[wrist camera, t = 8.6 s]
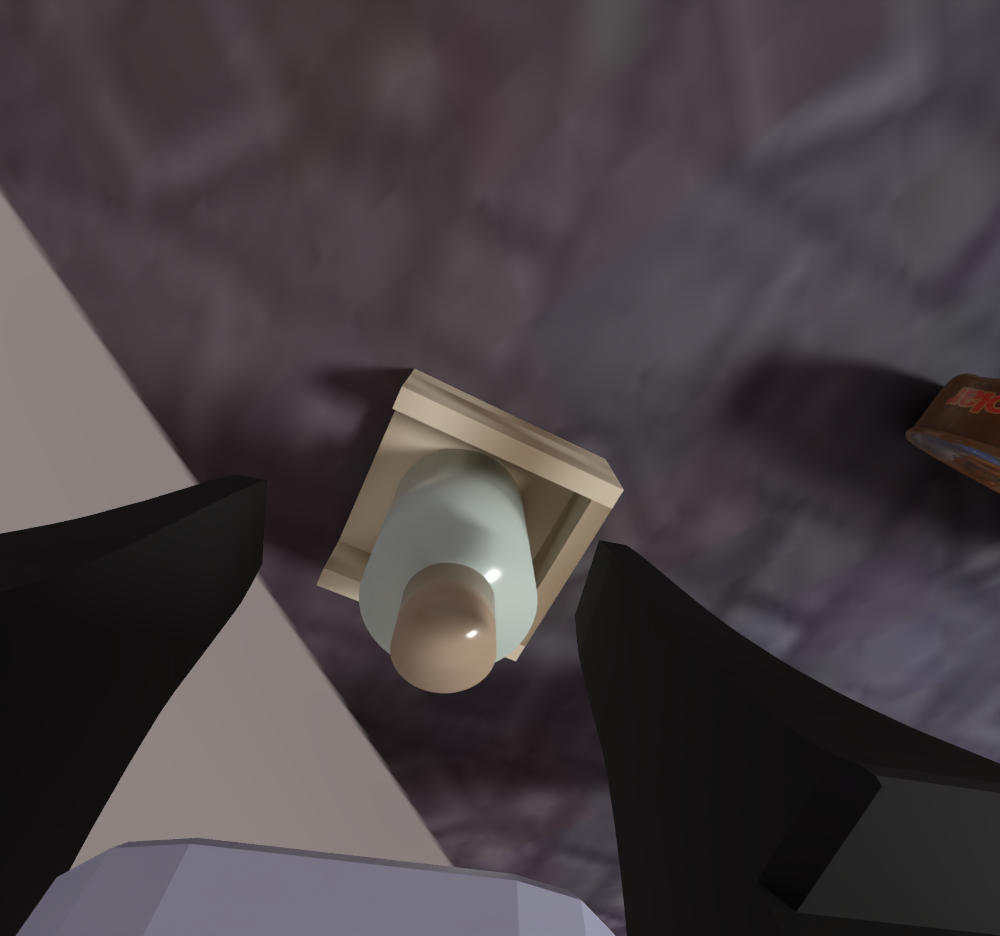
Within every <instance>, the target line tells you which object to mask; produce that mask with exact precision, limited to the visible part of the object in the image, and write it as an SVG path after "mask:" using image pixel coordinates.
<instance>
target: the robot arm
mask: <svg viewBox="0 0 1000 936" xmlns="http://www.w3.org/2000/svg"><path fill="white" fill-rule="evenodd" d="M266 482H267V480H262V479H257V478H251V477H246V476H240V475H233V476H227V477H223V478H219V479H215V480H212V481H208V482H205V483H201V484H198V485H195V486H191V487H189V488H185V489H182V490H178V491H175V492H172V493H169V494H165V495H162V496H159V497H156V498H152V499H149V500H146V501H142V502H138V503H135V504H131V505H127V506H124V507H120V508H116V509H112V510H109V511H105V512H101V513H98V514H94V515H90V516H86V517H82V518H78V519H74V520H69V521H64V522H59V523H55V524H50V525H45V526H39V527H34V528H29V529H24V530H19V531H13V532H7V533H2V534H0V936H615V935H614V934H613V933H612V932H611V931H610V930H609V928H608V927H607V926H606V925H605V924H604V923H603V922H602V921H601V920H600V919H599V918H598V917H597V916H596V915H595V914H594V913H593V912H592V911H591V910H590V909H589V908H588V907H587V906H586V905H585V904H584V903H583V902H582V901H581V900H580V899H579V898H578V897H576V896H575V895H574V894H572V893H571V892H570V891H567V890H564V889H561V888H558V887H554V886H551V885H548V884H545V883H541V882H538V881H535V880H531V879H528V878H525V877H522V876H518V875H515V874H510V873H501V872H493V871H484V870H475V869H466V868H457V867H449V866H439V865H431V864H422V863H412V862H405V861H395V860H387V859H378V858H369V857H360V856H352V855H343V854H334V853H325V852H316V851H307V850H299V849H290V848H281V847H273V846H264V845H255V844H246V843H238V842H229V841H220V840H210V839H202V838H189V839H172V840H154V841H137V842H128V843H125V844H122V845H119V846H116V847H113V848H111V849H108V850H107V851H105V852H103V853H101V854H100V855H98V856H95V857H94V858H92V859H90V860H88V861H86V862H84V863H82V864H81V865H79V866H77V867H75V868H73V869H71V870H70V868H71V866H72V864H73V862H74V860H75V859H76V856H77V855H78V853H79V851H80V849H81V847H82V846H83V844H84V842H85V840H86V838H87V837H88V835H89V833H90V831H91V829H92V827H93V826H94V824H95V822H96V820H97V818H98V817H99V815H100V813H101V812H102V810H103V808H104V806H105V805H106V802H107V801H108V799H109V798H110V796H111V794H112V792H113V791H114V789H115V787H116V785H117V784H118V782H119V780H120V778H121V777H122V775H123V773H124V771H125V770H126V768H127V766H128V764H129V763H130V761H131V760H132V758H133V756H134V754H135V753H136V751H137V750H138V748H139V746H140V745H141V743H142V741H143V740H144V738H145V736H146V735H147V733H148V731H149V730H150V728H151V727H152V725H153V723H154V721H155V720H156V718H157V717H158V715H159V713H160V712H161V710H162V709H163V708H164V706H165V705H166V703H167V702H168V700H169V699H170V697H171V696H172V695H173V693H174V692H175V690H176V689H177V688H178V686H179V685H180V684H181V682H182V681H183V680H184V678H185V677H186V676H187V674H188V673H189V672H190V670H191V669H192V668H193V666H194V665H195V664H196V662H197V661H198V660H199V659H200V657H201V656H202V654H203V653H204V652H205V650H206V649H207V648H208V647H209V645H210V644H211V643H212V641H213V640H214V638H215V637H216V636H217V635H218V633H219V632H220V631H221V629H222V628H223V627H224V625H225V624H226V623H227V621H228V620H229V618H230V617H231V616H232V614H233V613H234V612H235V610H236V609H237V608H238V606H239V605H240V603H241V602H242V600H243V598H244V597H245V595H246V593H247V591H248V590H249V588H250V586H251V584H252V582H253V580H254V578H255V577H256V575H257V573H258V571H259V569H260V567H261V565H262V556H263V538H264V519H265V500H266ZM575 622H576V634H577V643H578V652H579V658H580V662H581V667H582V671H583V675H584V679H585V683H586V687H587V691H588V695H589V699H590V703H591V707H592V711H593V715H594V719H595V723H596V727H597V731H598V735H599V739H600V742H601V746H602V750H603V755H604V760H605V765H606V769H607V774H608V781H609V788H610V795H611V802H612V809H613V816H614V822H615V830H616V838H617V846H618V855H619V863H620V871H621V879H622V888H623V898H624V908H625V918H626V928H627V936H1000V764H999V763H997V762H994V761H992V760H989V759H987V758H984V757H982V756H980V755H977V754H975V753H972V752H970V751H967V750H965V749H962V748H960V747H957V746H955V745H953V744H950V743H948V742H945V741H943V740H940V739H938V738H935V737H933V736H930V735H928V734H926V733H923V732H921V731H918V730H916V729H914V728H911V727H909V726H907V725H905V724H902V723H900V722H898V721H896V720H894V719H892V718H890V717H887V716H885V715H883V714H881V713H879V712H877V711H875V710H873V709H870V708H868V707H866V706H864V705H862V704H860V703H858V702H856V701H854V700H852V699H850V698H848V697H846V696H844V695H842V694H840V693H838V692H836V691H834V690H832V689H831V688H829V687H827V686H825V685H823V684H822V683H820V682H818V681H816V680H814V679H812V678H811V677H809V676H807V675H805V674H803V673H802V672H800V671H798V670H796V669H795V668H793V667H791V666H789V665H788V664H786V663H784V662H783V661H781V660H779V659H778V658H776V657H774V656H773V655H771V654H770V653H768V652H767V651H765V650H764V649H762V648H761V647H759V646H757V645H756V644H754V643H753V642H751V641H750V640H748V639H747V638H745V637H744V636H742V635H741V634H739V633H738V632H736V631H735V630H734V629H732V628H731V627H729V626H728V625H727V624H725V623H724V622H723V621H721V620H720V619H719V618H717V617H716V616H715V615H713V614H712V613H711V612H709V611H708V610H707V609H705V608H704V607H703V606H702V605H700V604H699V603H698V602H696V601H695V600H694V599H693V598H691V597H690V596H689V595H688V594H687V593H685V592H684V591H683V590H682V589H680V588H679V587H678V586H677V585H676V584H674V583H673V582H672V581H671V580H670V579H668V578H667V577H666V576H665V575H664V574H662V573H661V572H660V571H659V570H658V569H657V568H655V567H654V566H653V565H652V564H651V563H649V562H648V561H647V560H646V559H644V558H643V557H642V556H641V555H639V554H638V553H637V552H635V551H634V550H633V549H631V548H630V547H628V546H626V545H622V544H617V543H611V542H606V541H600V540H599V542H598V546H597V549H596V552H595V555H594V558H593V561H592V564H591V567H590V570H589V574H588V577H587V580H586V583H585V586H584V589H583V592H582V595H581V598H580V601H579V605H578V608H577V611H576V614H575Z"/></svg>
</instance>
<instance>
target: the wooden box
mask: <svg viewBox="0 0 1000 936" xmlns="http://www.w3.org/2000/svg"><path fill="white" fill-rule="evenodd" d="M392 409H394V410H395V412H394V414H393V417H392V419H391V421H390V423H389V426H388V428H387V430H386V433H385V435H384V437H383V440H382V442H381V444H380V447H379V449H378V451H377V454H376V456H375V458H374V460H373V463H372V465H371V467H370V470H369V472H368V474H367V477H366V479H365V481H364V484H363V486H362V488H361V490H360V493H359V495H358V497H357V500H356V502H355V504H354V507H353V509H352V511H351V514H350V516H349V518H348V521H347V523H346V525H345V527H344V530H343V532H342V534H341V537H340V539H339V541H338V543H337V545H336V547H335V549H334V550H333V552H332V554H331V556H330V558H329V559H328V561H327V563H326V565H325V567H324V569H323V571H322V573H321V576H320V578H319V580H318V583H317V586H320V587H323V588H325V589H328V590H330V591H333V592H336V593H338V594H341V595H344V596H346V597H349V598H351V599H354V600H357V601H359V589H360V583H361V580H362V576H363V573H364V571H365V568H366V566H367V563H368V561H369V558H370V556H371V553H372V550H373V548H374V545H375V543H376V540H377V538H378V535H379V533H380V530H381V528H382V525H383V523H384V520H385V517H386V515H387V512H388V510H389V507H390V505H391V502H392V500H393V497H394V495H395V492H396V490H397V487H398V485H399V483H400V481H401V479H402V477H403V476H404V475H405V473H406V472H407V471H408V470H409V469H410V468H411V467H412V466H413V465H414V464H415V463H416V462H418V461H419V460H421V459H422V458H424V457H426V456H428V455H430V454H433V453H436V452H439V451H443V450H449V449H465V450H471V451H476V452H479V453H482V454H485V455H487V456H489V457H491V458H493V459H494V460H496V461H497V462H499V463H500V464H501V465H502V466H504V467H505V468H506V469H507V470H508V472H509V473H510V474H511V475H512V477H513V478H514V480H515V481H516V483H517V485H518V487H519V490H520V493H521V497H522V503H523V509H524V515H525V521H526V527H527V533H528V540H529V546H530V552H531V558H532V564H533V570H534V576H535V582H536V589H537V610H536V615H535V618H534V621H533V624H532V626H531V628H530V630H529V632H528V634H527V635H526V637H525V638H524V640H523V641H522V642H521V643H520V644H519V645H518V646H517V647H516V648H515V649H514V650H513V651H512V652H511V653H509V654H508V655H507V656H505V657H506V658H509V659H511V660H514V661H516V660H517V659H518V657H519V655H520V654H521V652H522V651H523V649H524V647H525V646H526V644H527V643H528V641H529V640H530V638H531V636H532V635H533V633H534V632H535V630H536V628H537V627H538V625H539V624H540V622H541V621H542V619H543V617H544V616H545V614H546V613H547V611H548V609H549V608H550V606H551V605H552V603H553V601H554V600H555V598H556V597H557V595H558V594H559V592H560V590H561V589H562V587H563V586H564V584H565V582H566V581H567V579H568V578H569V576H570V574H571V573H572V571H573V570H574V568H575V567H576V565H577V563H578V562H579V560H580V559H581V557H582V555H583V554H584V552H585V551H586V549H587V547H588V546H589V544H590V543H591V541H592V540H593V538H594V536H595V535H596V533H597V532H598V530H599V528H600V527H601V525H602V524H603V522H604V521H605V519H606V517H607V516H608V514H609V513H610V511H611V509H612V508H613V506H614V505H615V503H616V501H617V500H618V498H619V497H620V495H621V494H622V492H623V488H622V486H621V484H620V483H619V481H618V479H617V478H616V476H615V474H614V473H613V471H612V469H611V468H610V466H609V464H608V463H607V461H606V459H604V458H602V457H599V456H597V455H595V454H593V453H591V452H589V451H587V450H585V449H583V448H581V447H578V446H576V445H574V444H572V443H570V442H568V441H566V440H564V439H562V438H559V437H557V436H555V435H553V434H551V433H549V432H547V431H545V430H543V429H541V428H538V427H536V426H534V425H532V424H530V423H528V422H526V421H524V420H522V419H520V418H517V417H515V416H513V415H511V414H509V413H507V412H505V411H503V410H501V409H498V408H496V407H494V406H492V405H490V404H488V403H486V402H484V401H482V400H480V399H477V398H475V397H473V396H471V395H469V394H467V393H465V392H463V391H461V390H459V389H456V388H454V387H452V386H450V385H448V384H446V383H444V382H442V381H440V380H437V379H435V378H433V377H431V376H429V375H427V374H425V373H423V372H421V371H419V370H416V369H414V370H413V372H412V373H411V375H410V376H409V377H408V379H407V380H406V381H405V383H404V384H403V386H402V387H401V390H400V392H399V394H398V397H397V399H396V401H395V404H394V406H393V408H392Z"/></svg>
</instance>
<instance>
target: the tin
mask: <svg viewBox="0 0 1000 936" xmlns="http://www.w3.org/2000/svg"><path fill="white" fill-rule="evenodd" d="M905 436H906V438H907V440H908V441H910V442H911V443H912V444H913V445H915V446H916V447H918V448H919V449H921V450H923V451H924V452H926V453H927V454H929V455H931V456H932V457H934V458H936V459H937V460H939V461H941V462H943V463H945V464H946V465H948V466H950V467H952V468H954V469H955V470H957V471H959V472H961V473H962V474H964V475H966V476H968V477H970V478H972V479H974V480H975V481H977V482H979V483H981V484H983V485H984V486H986V487H988V488H990V489H991V490H993V491H995V492H997V493H999V494H1000V379H995V378H985V377H979V376H977V375H974V374H961V375H958V376H956V377H954V378H953V379H951V380H950V381H949V382H948V383H947V384H946V385H945V386H944V387H943V389H942V390H941V391H940V392H939V393H938V395H937V396H936V397H935V399H934V400H933V401H932V403H931V404H930V405H929V407H928V408H927V409H926V411H925V412H924V413H923V415H922V416H921V417H920V419H919V420H918V421H917V423H916V424H915V425H914V427H913V428H910V429H908V430H907V431H906V432H905Z"/></svg>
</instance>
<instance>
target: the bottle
mask: <svg viewBox="0 0 1000 936" xmlns="http://www.w3.org/2000/svg"><path fill="white" fill-rule="evenodd" d="M359 605H360V611H361V615H362V618H363V621H364V623H365V625H366V627H367V629H368V631H369V632H370V634H371V635H372V637H373V638H374V639H375V641H376V642H377V643H378V644H379V645H380V646H381V647H382V648H383V649H384V650H385V651H387V652H388V653H389V654H391V659H392V662H393V665H394V667H395V669H396V670H397V671H398V673H399V674H400V675H401V676H402V677H403V678H404V679H405V680H406V681H407V682H409V683H410V684H412V685H414V686H416V687H418V688H420V689H423V690H426V691H429V692H435V693H454V692H459V691H463V690H466V689H468V688H471V687H473V686H475V685H476V684H478V683H479V682H481V681H482V680H483V679H484V678H485V677H486V676H487V675H488V674H489V672H490V671H491V669H492V668H493V665H494V663H495V662H497V661H499V660H501V659H502V658H504V657H505V656H507V655H508V654H509V653H511V652H512V651H513V650H514V649H515V648H516V647H517V646H518V645H519V644H520V643H521V642H522V641H523V640H524V638H525V637H526V635H527V634H528V632H529V630H530V628H531V626H532V624H533V621H534V618H535V615H536V610H537V589H536V582H535V576H534V570H533V564H532V558H531V552H530V546H529V540H528V533H527V527H526V521H525V515H524V509H523V503H522V497H521V493H520V490H519V487H518V485H517V483H516V481H515V480H514V478H513V477H512V475H511V474H510V473H509V472H508V470H507V469H506V468H505V467H504V466H502V465H501V464H500V463H499V462H497V461H496V460H494V459H493V458H491V457H489V456H487V455H485V454H482V453H479V452H476V451H471V450H465V449H449V450H443V451H439V452H436V453H433V454H430V455H428V456H426V457H424V458H422V459H421V460H419V461H418V462H416V463H415V464H414V465H413V466H412V467H411V468H410V469H409V470H408V471H407V472H406V473H405V475H404V476H403V477H402V479H401V481H400V483H399V485H398V487H397V490H396V492H395V495H394V497H393V500H392V502H391V505H390V507H389V510H388V512H387V515H386V517H385V520H384V523H383V525H382V528H381V530H380V533H379V535H378V538H377V540H376V543H375V545H374V548H373V550H372V553H371V556H370V558H369V561H368V563H367V566H366V568H365V571H364V573H363V576H362V580H361V583H360V589H359Z"/></svg>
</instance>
